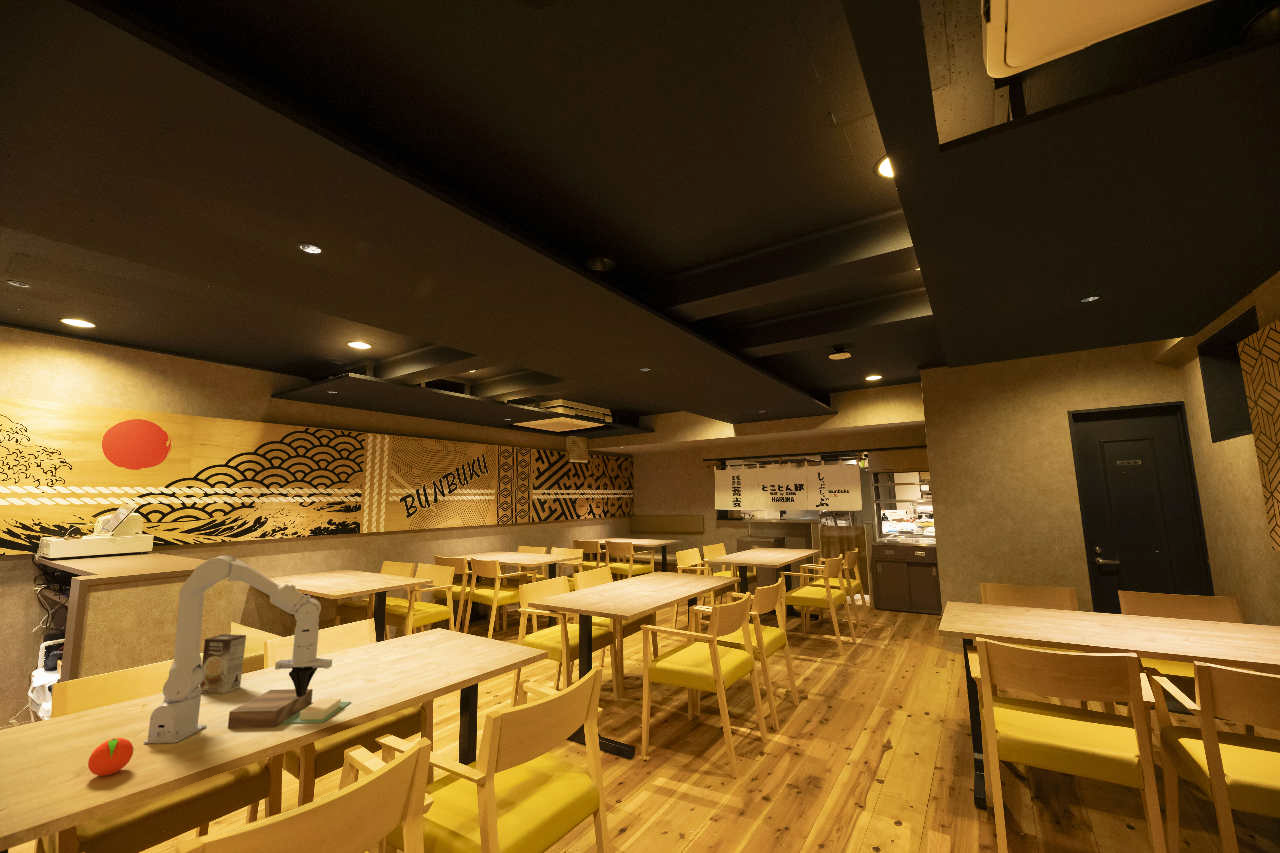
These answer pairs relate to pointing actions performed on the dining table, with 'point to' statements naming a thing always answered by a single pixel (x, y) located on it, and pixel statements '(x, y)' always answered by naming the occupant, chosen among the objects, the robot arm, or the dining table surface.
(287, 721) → the mat
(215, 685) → the coffee box
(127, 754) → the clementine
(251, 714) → the brown wooden block
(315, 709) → the tile
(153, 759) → the dining table surface
